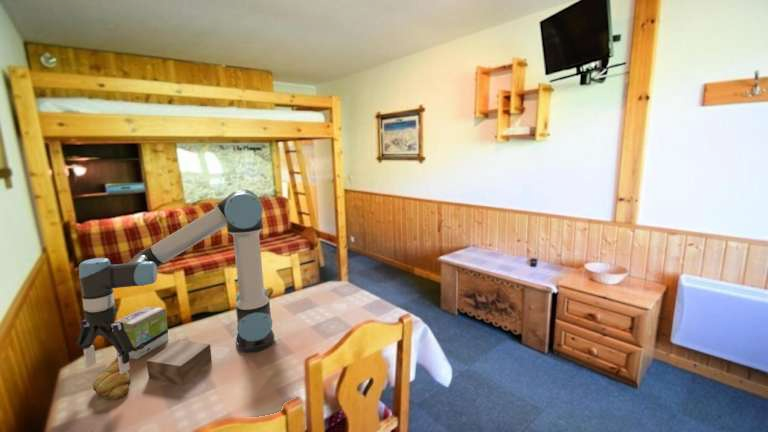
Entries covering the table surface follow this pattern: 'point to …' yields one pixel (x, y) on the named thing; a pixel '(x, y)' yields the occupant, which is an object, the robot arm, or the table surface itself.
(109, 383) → the bread roll
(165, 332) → the tea box
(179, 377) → the walnut block
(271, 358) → the table surface
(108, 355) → the table surface
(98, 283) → the robot arm
